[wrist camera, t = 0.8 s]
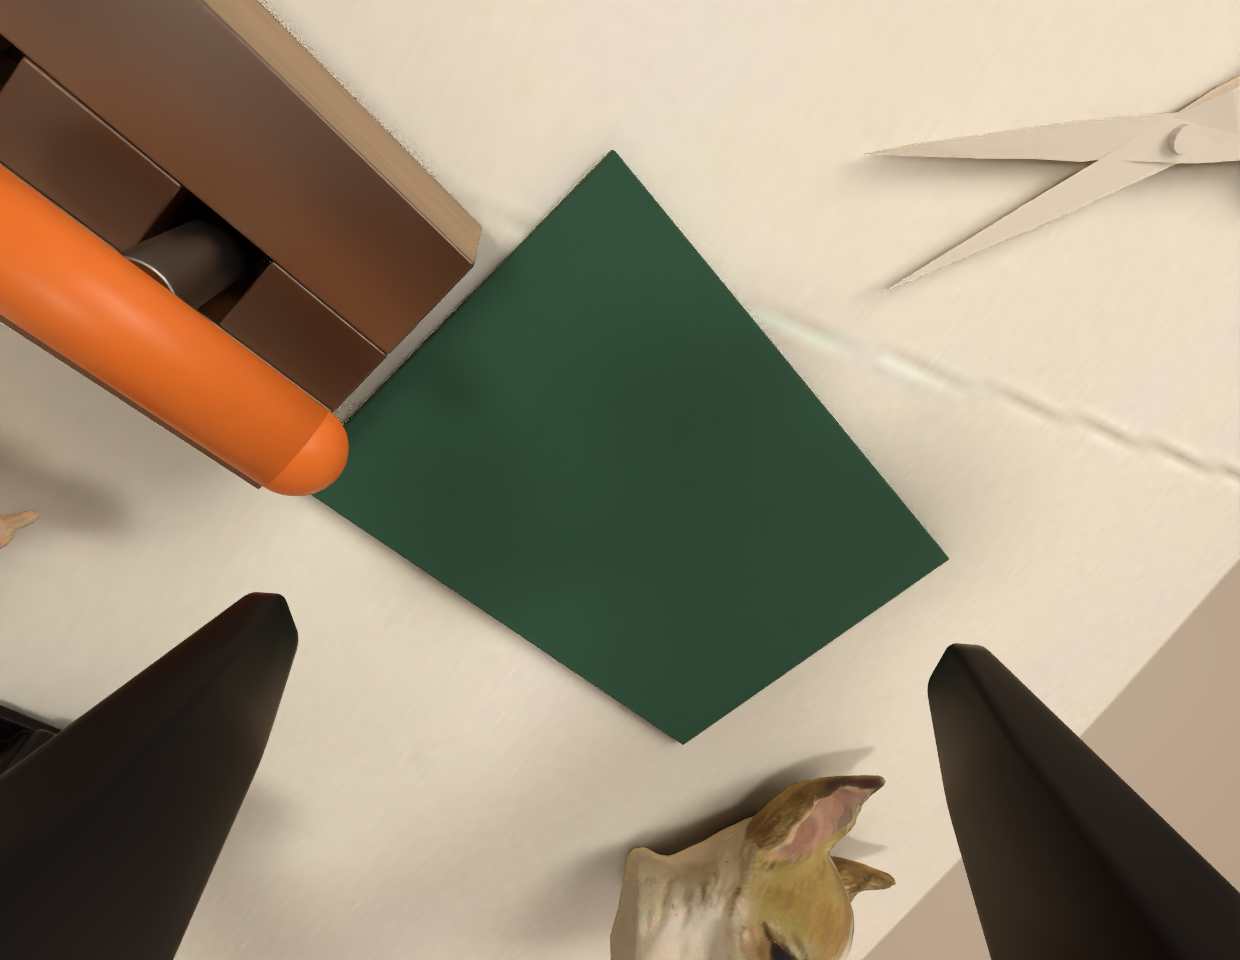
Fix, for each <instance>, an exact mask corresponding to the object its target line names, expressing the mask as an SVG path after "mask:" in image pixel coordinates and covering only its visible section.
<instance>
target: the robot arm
mask: <svg viewBox="0 0 1240 960" xmlns="http://www.w3.org/2000/svg"><path fill="white" fill-rule="evenodd" d="M297 646H298V632H297V629H296V626H295V623H294V621H293V618H292V615H291V613H290V610H289V607H288V604H287V602H286V600H285V598H284V597H283V596H282V595H280V594H274V593H261V592H253V593H250V594H247V595H245V596H244V597H242V598H241V599H240V600H238V601H237V602H236V603H234V604H233V605H231V606H230V607H229V608H227V609H226V610H225V611H223V612H222V613H221V614H219V615H218V616H217V617H215V618H214V619H212V620H211V621H210V622H208V623H207V624H206V625H204V626H203V627H202V628H200V629H199V630H198V631H196V632H195V633H193V634H192V635H191V636H189V637H188V638H187V639H185V640H184V641H183V642H181V643H180V644H179V645H177V646H176V647H174V648H173V649H172V650H170V651H169V652H168V653H166V654H165V655H164V656H162V657H161V658H160V659H158V660H157V661H155V662H154V663H153V664H151V665H150V666H149V667H147V668H146V669H145V670H143V671H142V672H141V673H139V674H138V675H136V676H135V677H134V678H132V679H131V680H130V681H128V682H127V683H126V684H124V685H123V686H122V687H120V688H119V689H117V690H116V691H115V692H113V693H112V694H111V695H109V696H108V697H107V698H105V699H104V700H103V701H101V702H100V703H98V704H97V705H96V706H94V707H93V708H92V709H90V710H89V711H88V712H86V713H85V714H84V715H82V716H81V717H79V718H78V719H77V720H75V721H74V722H73V723H71V724H70V725H69V726H67V727H66V728H65V729H63V730H62V731H61V730H59V729H57V728H54V727H52V726H49V725H47V724H44V723H42V722H40V721H37V720H35V719H32V718H30V717H28V716H25V715H23V714H20V713H18V712H15V711H13V710H11V709H8V708H6V707H3V706H1V705H0V960H173V959H174V956H175V954H176V952H177V950H178V947H179V945H180V943H181V941H182V938H183V936H184V934H185V932H186V929H187V927H188V925H189V922H190V920H191V918H192V916H193V913H194V911H195V909H196V907H197V904H198V902H199V900H200V898H201V895H202V893H203V891H204V888H205V886H206V884H207V882H208V879H209V877H210V875H211V873H212V870H213V868H214V866H215V864H216V861H217V859H218V857H219V854H220V852H221V850H222V848H223V845H224V843H225V841H226V839H227V836H228V834H229V832H230V830H231V827H232V825H233V823H234V821H235V818H236V816H237V814H238V811H239V809H240V807H241V805H242V802H243V800H244V798H245V796H246V793H247V791H248V789H249V787H250V784H251V782H252V780H253V777H254V775H255V773H256V771H257V768H258V766H259V763H260V761H261V758H262V756H263V753H264V750H265V747H266V745H267V742H268V739H269V736H270V733H271V729H272V726H273V723H274V720H275V717H276V714H277V711H278V707H279V704H280V701H281V698H282V695H283V692H284V688H285V685H286V682H287V679H288V676H289V673H290V669H291V666H292V663H293V660H294V657H295V654H296V650H297ZM928 699H929V705H930V711H931V716H932V722H933V728H934V734H935V739H936V745H937V751H938V757H939V763H940V768H941V774H942V780H943V786H944V791H945V796H946V801H947V805H948V809H949V813H950V817H951V821H952V824H953V828H954V831H955V835H956V838H957V842H958V845H959V849H960V852H961V856H962V859H963V863H964V866H965V870H966V873H967V877H968V880H969V883H970V887H971V891H972V894H973V897H974V901H975V905H976V908H977V911H978V915H979V918H980V922H981V925H982V929H983V932H984V936H985V939H986V943H987V946H988V950H989V953H990V957H991V960H1240V893H1239V892H1238V891H1237V890H1236V889H1235V888H1234V887H1233V886H1232V885H1231V884H1230V883H1229V882H1228V881H1227V880H1226V879H1225V878H1224V877H1223V876H1222V875H1221V874H1220V873H1219V872H1218V871H1217V870H1216V869H1215V868H1213V867H1212V865H1210V864H1209V863H1208V862H1207V861H1206V860H1205V859H1204V858H1203V857H1202V856H1201V855H1200V854H1199V853H1198V852H1197V851H1196V850H1195V849H1194V848H1193V847H1192V846H1191V845H1190V844H1188V842H1187V841H1185V839H1183V838H1182V837H1181V836H1180V835H1179V834H1178V833H1177V832H1176V831H1175V830H1174V829H1173V828H1172V827H1171V826H1170V825H1169V824H1168V823H1167V822H1166V821H1165V820H1164V819H1163V818H1162V817H1161V816H1159V814H1158V813H1156V811H1155V810H1153V809H1152V808H1151V807H1150V806H1149V805H1148V804H1147V803H1146V802H1145V801H1144V800H1143V799H1142V798H1141V797H1140V796H1139V795H1138V794H1137V793H1136V792H1135V791H1134V790H1133V789H1132V788H1131V787H1130V786H1129V785H1128V784H1126V783H1125V782H1124V781H1123V780H1122V779H1121V778H1120V777H1119V776H1118V775H1117V774H1116V773H1115V772H1114V771H1113V770H1112V769H1111V768H1110V767H1109V766H1108V765H1107V764H1106V763H1105V762H1104V761H1103V760H1102V759H1101V758H1100V757H1099V756H1098V755H1096V754H1095V753H1094V752H1093V751H1092V750H1091V749H1090V748H1089V747H1088V746H1087V745H1086V744H1085V743H1084V742H1083V741H1082V740H1081V739H1080V738H1079V737H1078V736H1077V735H1076V734H1075V733H1074V732H1073V731H1072V730H1071V729H1070V728H1069V727H1067V726H1066V725H1065V724H1064V723H1063V722H1062V721H1061V720H1060V719H1059V718H1058V717H1057V716H1056V715H1055V714H1054V713H1053V712H1052V711H1051V710H1050V709H1049V708H1048V707H1047V706H1046V705H1045V704H1044V703H1043V702H1042V701H1041V700H1040V699H1038V698H1037V697H1036V696H1035V695H1034V694H1033V693H1032V692H1031V691H1030V690H1029V689H1028V688H1027V687H1026V686H1025V685H1024V684H1023V683H1022V682H1021V681H1020V680H1019V679H1018V678H1017V677H1016V676H1015V675H1014V674H1013V673H1012V672H1011V671H1009V670H1008V669H1007V668H1006V667H1005V666H1004V665H1003V664H1002V663H1001V662H1000V661H999V660H998V659H997V658H996V657H995V656H994V655H993V654H992V653H991V652H990V651H989V650H987V649H986V648H984V647H982V646H979V645H971V644H957V643H956V644H952V645H950V646H948V648H947V649H946V650H945V652H944V654H943V656H942V657H941V659H940V661H939V663H938V664H937V666H936V668H935V670H934V671H933V673H932V675H931V677H930V679H929V683H928Z"/></svg>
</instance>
